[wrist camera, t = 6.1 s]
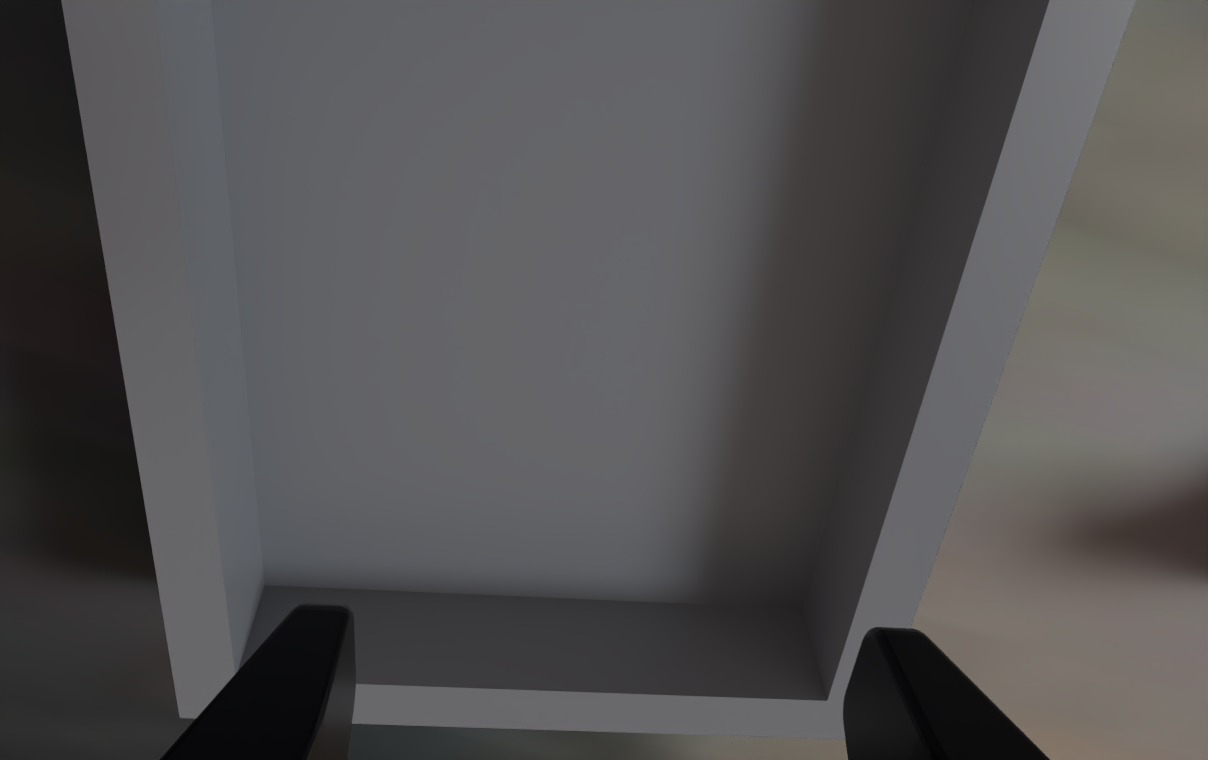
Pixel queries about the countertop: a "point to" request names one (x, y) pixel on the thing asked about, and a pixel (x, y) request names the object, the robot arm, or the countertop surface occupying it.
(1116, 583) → the countertop surface
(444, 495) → the parts tray
